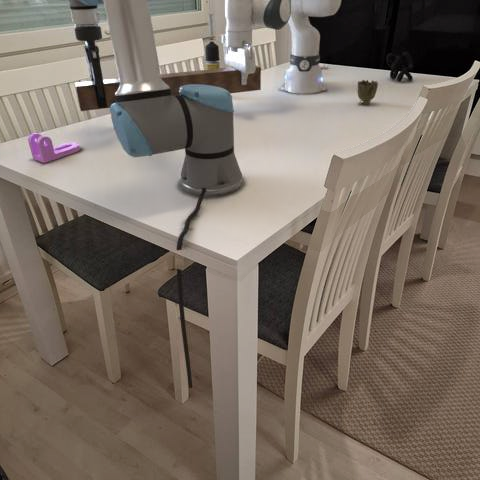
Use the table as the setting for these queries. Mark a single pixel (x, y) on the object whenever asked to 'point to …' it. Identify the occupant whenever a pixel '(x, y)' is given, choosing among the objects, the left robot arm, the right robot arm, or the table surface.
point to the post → (173, 84)
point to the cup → (366, 91)
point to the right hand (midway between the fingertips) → (239, 82)
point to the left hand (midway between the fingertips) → (101, 104)
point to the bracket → (49, 148)
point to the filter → (212, 50)
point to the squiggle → (399, 66)
